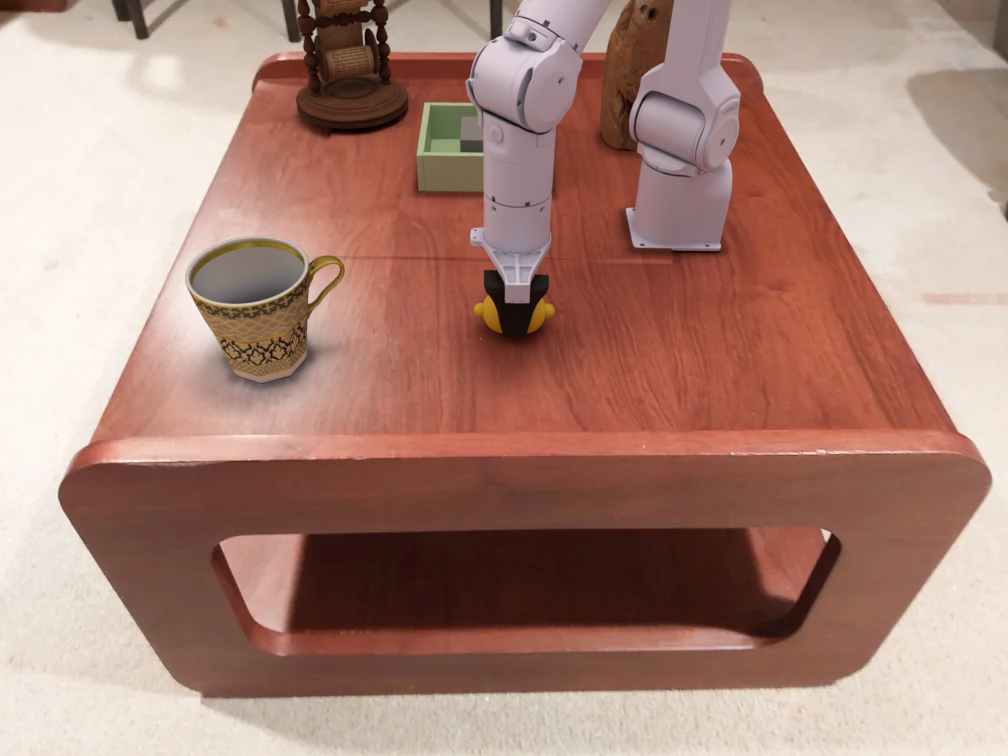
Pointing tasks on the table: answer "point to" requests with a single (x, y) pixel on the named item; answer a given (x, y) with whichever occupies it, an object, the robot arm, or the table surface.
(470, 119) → the grey block
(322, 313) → the table surface
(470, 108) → the crate
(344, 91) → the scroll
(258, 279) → the ceramic cup
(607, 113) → the brown upright lump
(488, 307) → the lemon
